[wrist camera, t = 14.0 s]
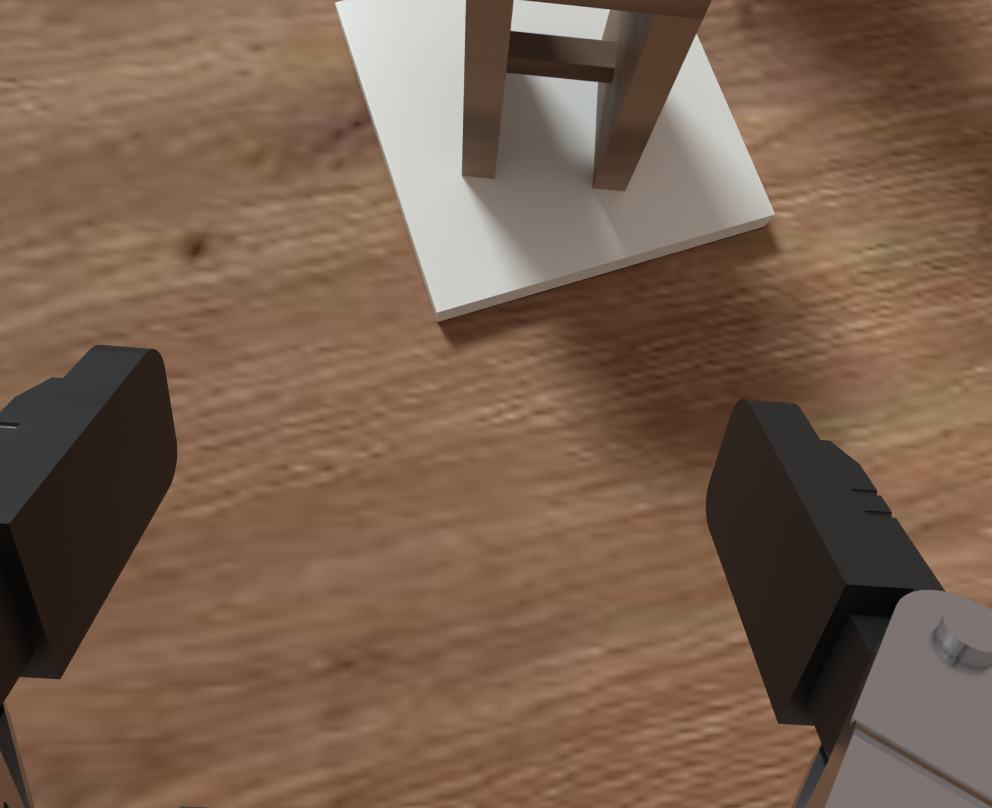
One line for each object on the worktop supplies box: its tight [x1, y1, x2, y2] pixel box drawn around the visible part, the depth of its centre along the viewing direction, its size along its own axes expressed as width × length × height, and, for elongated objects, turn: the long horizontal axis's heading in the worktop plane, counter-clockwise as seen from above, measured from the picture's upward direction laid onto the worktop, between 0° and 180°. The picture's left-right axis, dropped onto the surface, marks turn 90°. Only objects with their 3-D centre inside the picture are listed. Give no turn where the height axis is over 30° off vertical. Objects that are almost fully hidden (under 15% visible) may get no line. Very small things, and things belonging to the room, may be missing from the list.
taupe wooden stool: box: [462, 0, 711, 192], centre depth 23 cm, size 6×6×10 cm
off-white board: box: [335, 0, 775, 322], centre depth 29 cm, size 13×13×1 cm
